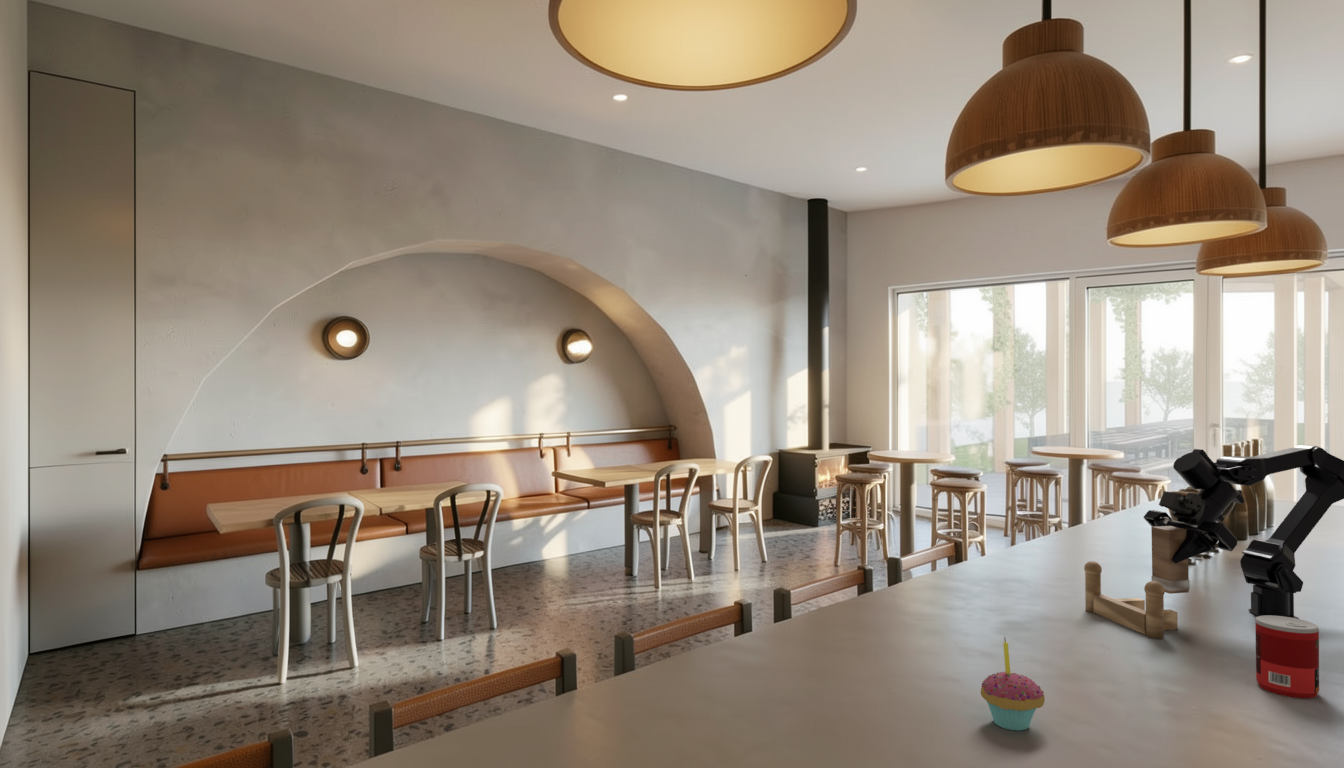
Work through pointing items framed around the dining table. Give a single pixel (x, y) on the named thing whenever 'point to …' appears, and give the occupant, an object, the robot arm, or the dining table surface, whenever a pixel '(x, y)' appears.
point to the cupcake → (1011, 697)
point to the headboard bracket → (1130, 606)
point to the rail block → (1169, 559)
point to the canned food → (1287, 656)
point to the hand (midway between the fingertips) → (1164, 559)
